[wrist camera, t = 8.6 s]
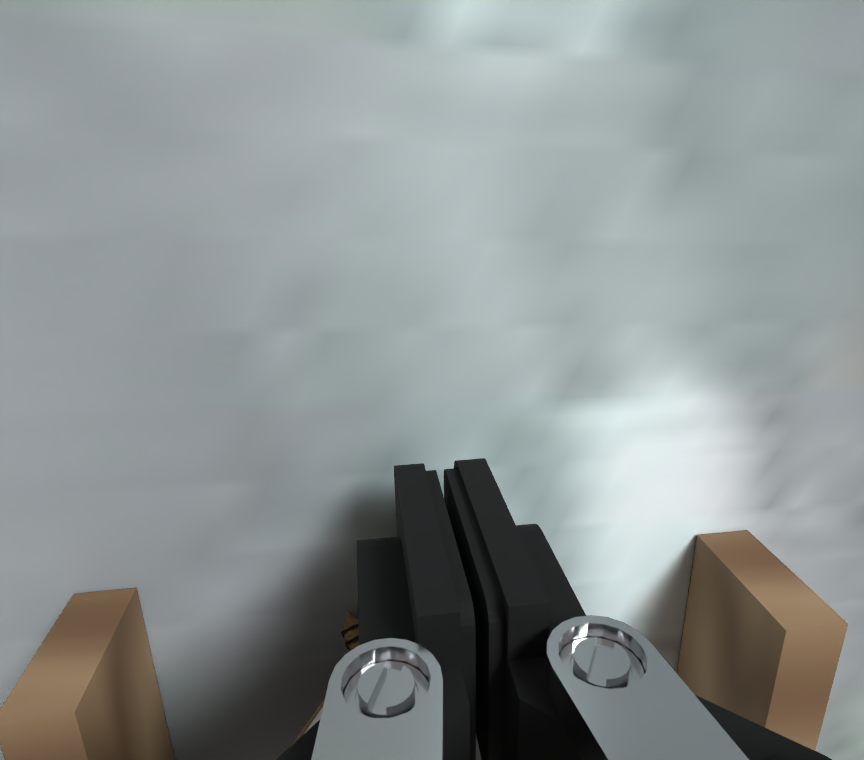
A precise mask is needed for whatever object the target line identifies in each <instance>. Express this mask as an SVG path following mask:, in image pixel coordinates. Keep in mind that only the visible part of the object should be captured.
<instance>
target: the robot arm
mask: <svg viewBox="0 0 864 760" xmlns="http://www.w3.org/2000/svg"><path fill="white" fill-rule="evenodd" d="M394 480H395V499H396V518H397V537H392V538H381V539H371V540H360V541H357V568H358V616H359V646H357V647H356V648H354V649H353V650H351V651H350V652H348V653H347V654H345V655H344V656H343V658H342V659H341V660H340V661H339V662H338V663H337V665H336V666H335V667H334V670H333V672H332V674H331V677H330V679H329V683H328V687H327V692H326V696H325V701H324V705H323V710H322V714H321V719H320V720H319V721H318V722H316V723H315V724H314V725H313V726H312V727H311V728H310V729H309V730H308V731H307V732H306V733H305V734H304V735H302V736H301V737H300V738H299V739H298V740H297V741H296V742H295V743H294V744H293V745H292V746H291V747H289V748H288V749H287V750H286V751H285V752H284V753H283V754H282V755H281V756H280V757H279V758H278V759H277V760H476V737H477V741H478V746H479V750H480V755H481V759H482V760H832V759H830V758H828V757H827V756H825V755H822V754H820V753H818V752H816V751H814V750H812V749H810V748H808V747H805V746H803V745H801V744H799V743H797V742H795V741H793V740H790V739H788V738H786V737H784V736H782V735H780V734H778V733H776V732H773V731H771V730H769V729H767V728H765V727H763V726H761V725H758V724H756V723H754V722H752V721H750V720H748V719H746V718H744V717H741V716H739V715H737V714H735V713H733V712H731V711H729V710H726V709H724V708H722V707H720V706H718V705H716V704H714V703H712V702H709V701H707V700H705V699H703V698H701V697H699V696H697V695H694V693H693V692H692V691H691V690H690V689H689V687H688V686H687V685H686V684H685V683H684V682H683V680H682V679H681V678H680V677H679V676H678V674H677V673H676V672H675V671H674V670H673V668H672V667H671V666H670V665H669V664H668V662H667V661H666V660H665V659H664V658H663V657H662V655H661V654H660V653H659V652H658V651H657V649H656V648H655V647H654V646H653V645H652V643H651V642H650V641H649V640H648V639H647V638H645V637H644V636H643V635H642V634H641V633H640V632H639V631H638V630H636V629H634V628H632V627H631V626H629V625H627V624H625V623H624V622H621V621H618V620H614V619H611V618H608V617H601V616H592V615H589V616H586V615H585V613H584V611H583V609H582V607H581V605H580V603H579V601H578V599H577V597H576V595H575V593H574V592H573V590H572V588H571V586H570V584H569V582H568V580H567V578H566V576H565V574H564V572H563V570H562V568H561V567H560V565H559V563H558V561H557V559H556V557H555V555H554V553H553V551H552V549H551V547H550V545H549V543H548V542H547V540H546V538H545V536H544V534H543V532H542V530H541V529H540V527H539V526H538V525H537V524H528V525H517V526H516V525H515V523H514V521H513V519H512V516H511V514H510V512H509V510H508V508H507V505H506V503H505V501H504V499H503V497H502V494H501V492H500V490H499V488H498V486H497V483H496V481H495V479H494V477H493V475H492V472H491V470H490V468H489V466H488V464H487V461H486V460H485V458H483V459H471V460H459V461H455V463H454V469H445V470H444V497H443V494H442V490H441V486H440V483H439V479H438V476H437V472H436V470H432V471H426V470H425V466H424V464H411V465H398V466H394Z"/></svg>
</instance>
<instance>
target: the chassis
mask: <svg viewBox="0 0 864 760" xmlns="http://www.w3.org/2000/svg"><path fill="white" fill-rule="evenodd" d="M847 626H848V623H847V622H846V621H845V620H844V619H842V618H841V617H840V616H839V615H838V614H837V613H836V612H835V611H834V610H833V609H832V608H831V607H830V606H829V605H827V604H826V603H825V602H824V601H823V600H822V599H821V598H820V597H819V596H818V595H817V594H816V593H815V592H813V591H812V590H811V589H810V588H809V587H808V586H807V585H806V584H805V583H804V582H803V581H802V580H801V579H799V578H798V577H797V576H796V575H795V574H794V573H793V572H792V571H791V570H790V569H789V568H788V567H787V566H785V565H784V564H783V563H782V562H781V561H780V560H779V559H778V558H777V557H776V556H775V555H774V554H773V553H771V552H770V551H769V550H768V549H767V548H766V547H765V546H764V545H763V544H762V543H761V542H760V541H759V540H758V539H756V538H755V537H754V536H753V535H752V534H751V533H750V532H749V531H748V530H743V531H733V532H722V533H712V534H701V535H697V540H696V547H695V554H694V560H693V567H692V574H691V581H690V587H689V594H688V601H687V608H686V615H685V621H684V628H683V635H682V642H681V648H680V655H679V662H678V669H677V674H678V676H679V677H680V678H681V679H682V680H683V682H684V683H685V684H686V685H687V686H688V687H689V689H690V690H691V691H692V692H693V693H694V695H697V696H699V697H701V698H703V699H705V700H707V701H709V702H712V703H714V704H716V705H718V706H720V707H722V708H724V709H726V710H729V711H731V712H733V713H735V714H737V715H739V716H741V717H744V718H746V719H748V720H750V721H752V722H754V723H756V724H758V725H761V726H763V727H765V728H767V729H769V730H771V731H773V732H776V733H778V734H780V735H782V736H784V737H786V738H788V739H790V740H793V741H795V742H797V743H799V744H801V745H803V746H805V747H808V748H810V749H812V750H814V751H815V749H816V745H817V741H818V738H819V734H820V730H821V726H822V722H823V718H824V714H825V711H826V707H827V703H828V699H829V695H830V691H831V688H832V684H833V680H834V676H835V672H836V668H837V664H838V661H839V657H840V653H841V649H842V645H843V641H844V638H845V634H846V630H847ZM0 746H1V749H2V751H3V754H4V757H5V760H175V759H174V754H173V750H172V745H171V741H170V736H169V732H168V727H167V723H166V718H165V714H164V709H163V705H162V700H161V696H160V691H159V687H158V682H157V678H156V673H155V669H154V664H153V660H152V655H151V651H150V646H149V642H148V637H147V633H146V628H145V624H144V619H143V615H142V610H141V606H140V601H139V597H138V592H137V588H129V589H118V590H108V591H97V592H87V593H76V594H73V596H72V597H71V599H70V600H69V602H68V604H67V605H66V607H65V608H64V610H63V611H62V613H61V615H60V616H59V618H58V619H57V621H56V622H55V624H54V626H53V627H52V629H51V630H50V632H49V633H48V635H47V637H46V638H45V640H44V641H43V643H42V644H41V646H40V648H39V649H38V651H37V652H36V654H35V655H34V657H33V659H32V660H31V662H30V663H29V665H28V666H27V668H26V670H25V671H24V673H23V674H22V676H21V677H20V679H19V681H18V682H17V684H16V685H15V687H14V688H13V690H12V692H11V693H10V695H9V696H8V698H7V699H6V701H5V703H4V704H3V706H2V707H1V709H0Z"/></svg>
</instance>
